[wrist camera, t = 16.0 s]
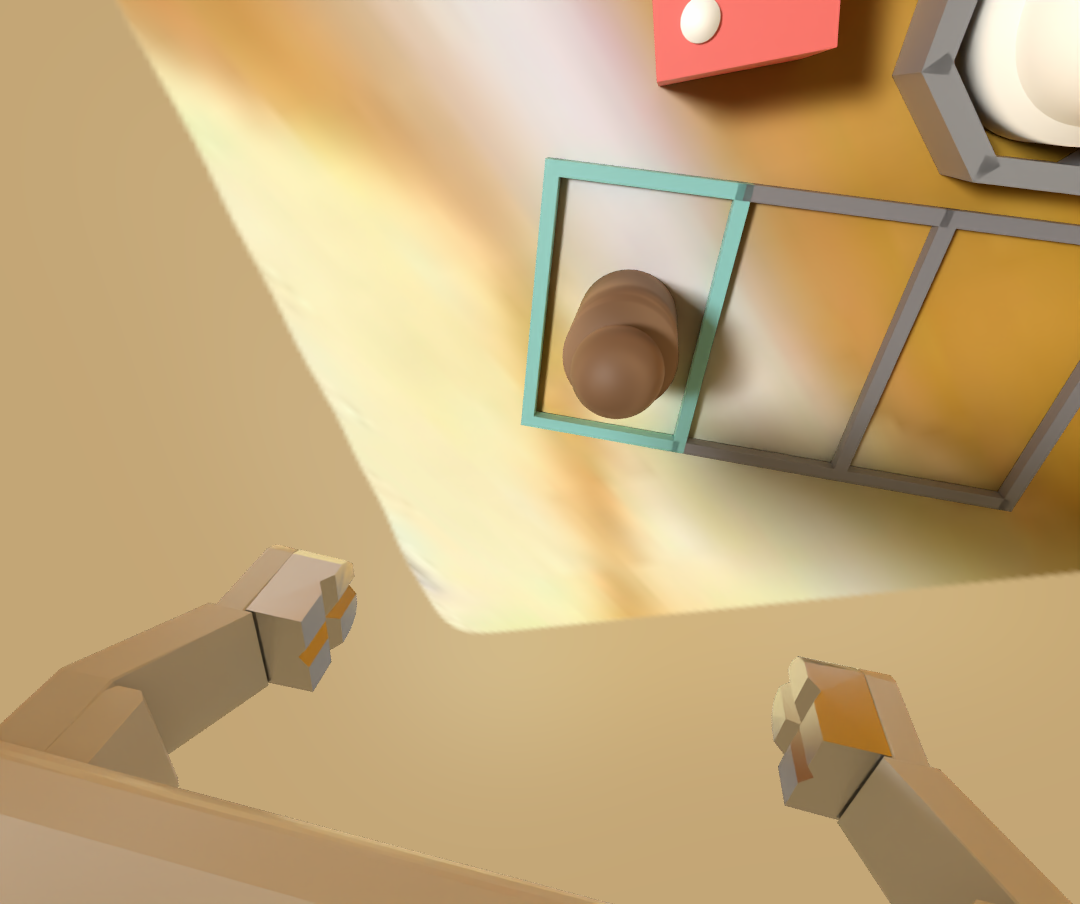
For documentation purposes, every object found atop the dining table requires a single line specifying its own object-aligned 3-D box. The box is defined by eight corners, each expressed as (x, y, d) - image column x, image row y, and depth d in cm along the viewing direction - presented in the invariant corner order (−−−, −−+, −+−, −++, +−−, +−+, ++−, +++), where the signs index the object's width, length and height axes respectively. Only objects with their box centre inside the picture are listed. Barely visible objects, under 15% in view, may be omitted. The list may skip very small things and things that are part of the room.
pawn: (686, 277, 25) (693, 340, 18) (665, 371, 28) (664, 457, 21) (586, 262, 26) (557, 318, 19) (573, 356, 28) (543, 435, 21)
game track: (1176, 237, 21) (1188, 240, 21) (1004, 504, 28) (1011, 511, 27) (548, 157, 24) (545, 158, 23) (523, 419, 30) (521, 424, 30)
